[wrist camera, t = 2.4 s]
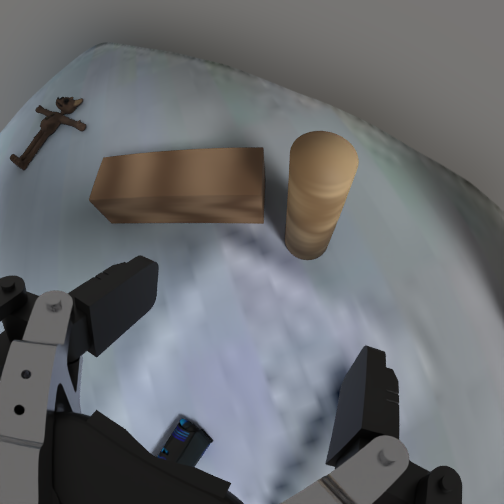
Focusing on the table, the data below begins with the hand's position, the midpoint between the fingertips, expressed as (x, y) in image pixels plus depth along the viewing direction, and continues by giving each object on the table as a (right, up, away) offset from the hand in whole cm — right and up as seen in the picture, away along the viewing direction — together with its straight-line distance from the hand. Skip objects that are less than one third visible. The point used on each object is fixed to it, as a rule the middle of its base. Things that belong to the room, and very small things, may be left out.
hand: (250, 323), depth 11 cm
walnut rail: (-7, +8, +20) cm, 22 cm away
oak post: (+5, +4, +17) cm, 18 cm away
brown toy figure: (-32, +21, +27) cm, 47 cm away
